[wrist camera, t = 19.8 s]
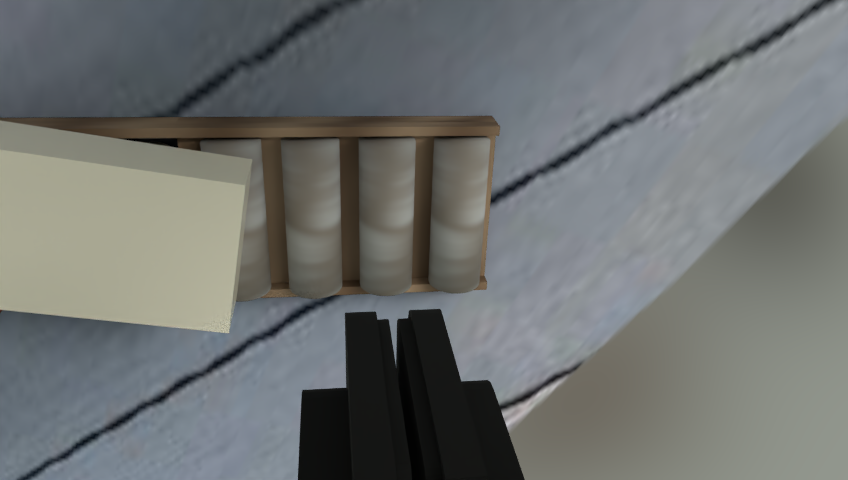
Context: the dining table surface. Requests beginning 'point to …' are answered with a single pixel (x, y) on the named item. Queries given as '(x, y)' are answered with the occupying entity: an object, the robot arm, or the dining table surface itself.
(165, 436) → the dining table surface
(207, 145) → the track
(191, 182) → the slab
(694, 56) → the dining table surface
